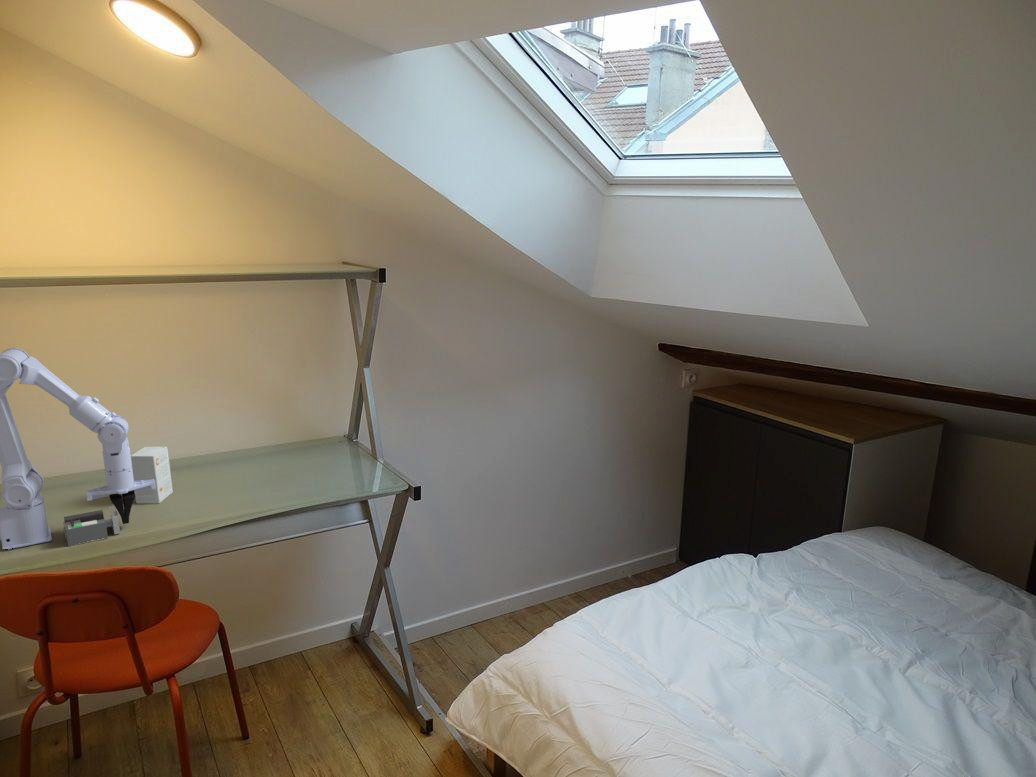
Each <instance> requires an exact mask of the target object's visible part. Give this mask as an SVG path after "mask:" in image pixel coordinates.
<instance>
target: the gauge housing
mask: <svg viewBox="0 0 1036 777" xmlns="http://www.w3.org/2000/svg"><path fill="white" fill-rule="evenodd" d="M70 519H73V520H78V519H80V520H81V523H76V524H74V526H71V525H68V526H65V527H66V534H67V540H66V541H67V546H69V547H72V546H71V545H74V546H76V545H75V544H78V545H80V544H79V543H83V542H87V541H91V540H97V539H102V538H107V537H108V538H109V536H108V527H106V521H105V520H106V518H105V517H104V512H103V509H100V510H99V509H98V510H93V511H89V512H83V513H78V514H72V515H68V516H67V515H66V516H63V521H64V522H68V521H70ZM83 544H84V543H83Z"/></svg>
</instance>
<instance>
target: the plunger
mask: <svg viewBox="0 0 1036 777" xmlns="http://www.w3.org/2000/svg"><path fill="white" fill-rule="evenodd" d="M108 509H109V516H110V519H105V521H106V527H107V528H109V527H112V531H113V533H114V535H117V534H118V535H119V534H121V528H120V523H119V520H120V519H119V513H118V510H117V509H116V507H115V506H114V505H111V506H109V507H108ZM76 523H81V520H80V519H78V520H73V519H70V521H68V522H62V526H63V532H64V537H65V541H67V534H66V527H65V526H68V525H71V526H74V524H76Z"/></svg>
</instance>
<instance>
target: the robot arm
mask: <svg viewBox="0 0 1036 777" xmlns="http://www.w3.org/2000/svg"><path fill="white" fill-rule="evenodd" d="M18 379H20V381H19V383H18V384H19V385H35V386H37V387H39V388H40V389H42V390H44V392H46V393H48V394H49V395H51V396H52V397H54V398H55V399H57V400H58V401H60V402H61V403H62V404H64V405H65V406H67V407H68V411H69V412H68V413H69V416H71V417H73V418H74V419H75V420H77V421H78V422H79V423H80V424H82V425H83V426H84V427H86V428H87V429H88V430H90V431H91V432H92V433H95V434H97V439H98V441H99V442H100V443H101V445H102V458H103V459H102V460H103V466H104V474H105V480H106V481H105V483H106V485H104V486H101V487H99V486H98V487H97V488H92V489H88V490H85V495H86V496H85V497H86V500H87V501H88V502H89V501H93V500H95V499H101V498H107V497H109V500H110V502H111V504H113V505H112V506H115V508H116V511H117V513H118V515H120V516H119V517H120V518H121V519H120V520H121V523H122V524H123V525H125V524H130V515H131V511H132V507H133V504H134V501H136V498H135V491H141V490H146V489H156V487H155V481H154V479H151V480H140V481H134V478H133V470H132V462H131V455H132V454H131V448H130V442H129V438H128V437H127V436H128V433H129V428H130V426H129V423H128V421H127V420H126V419H125V418H124V417H123V415H117V413H115V411H110V410H108V409H107V408H106V407H104V405H102V404H101V403H99V401H100V400H99V399H98V398H97V397H95V396H94V397H91V396H90V395H79V394H78V393H77V392H76V391H74V389H72V388H71V387H70V386H69V385H68V384H66V382H64V381H62V380H61V378H59V377H58V376H56V374H54V373H53V372H52V371H50V370H49V369H48V368H47V367H46V365H45V366H44V364H43V363H41V361H39V360H38V359H37V358H36V357H33V356H32V355H31V356H30V355H29V354H28V352H26V350H23V349H21V348H18V347H11V348H7V349H5V350H3V351H2V352H0V466H1V475H0V476H1V479H0V480H1V484H2V491H1V499H2V501H3V503H5V505H4V506H1V507H0V543H1V546H2V548H1V549H2V550H3V549H8V550H13V549H18V548H23V547H27V546H28V547H29V546H32V545H34V546H35V545H38V544H43V543H44V544H45V543H48V542H49V543H50V542H51V541H53V540H52V530H51V527H49V525H48V519H47V517H48V516H47V512H46V511H47V510H46V507H45V499H44V496H43V495H42V494H41V492H40V491H41V490H42V488H43V486H44V478H43V476H42V475H41V474H40V473H39V472H38V471H37V470H36V468H35V466H34V463H33V462H32V461H30V460H29V459H28V457H27V454H26V450H25V448H24V444H23V441H22V439H21V436H20V433H19V430H18V428H17V424H16V421H15V419H14V415H13V413H12V410H11V407H10V404H9V401H8V398H7V395H6V393H7V392H8V391H9V389H10V388H11V387H12V385H13V384H14V383H15V381H17V380H18ZM12 548H13V549H12Z"/></svg>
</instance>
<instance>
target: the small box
mask: <svg viewBox="0 0 1036 777" xmlns="http://www.w3.org/2000/svg"><path fill="white" fill-rule="evenodd" d="M168 448H169V447H168V446H144V447H142V448H141V449H138V450H137V451H136V452H135V453H133V454H131V462H132V470H133V478H134V481H140V480H151V479H154V481H155V487H156V489H146V490H141V491H135V503H136V504H138V505H139V504H161V502H163V501H164V500H165V499H166V498H167V497H169V496H170V495H171V494H173V492H174V491H173V482H172V475H171V466H170V457H169V450H168Z"/></svg>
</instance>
